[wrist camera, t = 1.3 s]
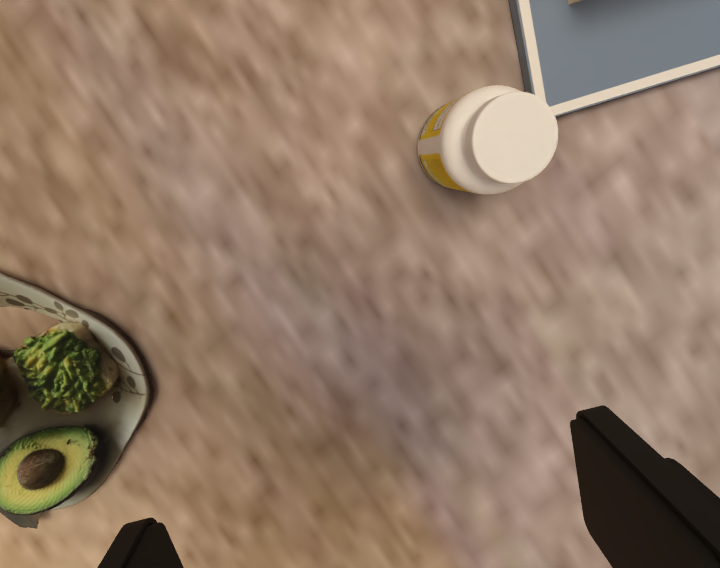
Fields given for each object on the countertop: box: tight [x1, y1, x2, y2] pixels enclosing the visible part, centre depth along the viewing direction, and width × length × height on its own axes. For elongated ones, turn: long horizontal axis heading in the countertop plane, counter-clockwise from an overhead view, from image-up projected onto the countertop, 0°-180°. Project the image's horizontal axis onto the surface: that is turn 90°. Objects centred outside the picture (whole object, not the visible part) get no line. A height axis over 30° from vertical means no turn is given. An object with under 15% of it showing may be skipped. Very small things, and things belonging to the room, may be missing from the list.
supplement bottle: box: [417, 85, 558, 195], centre depth 25 cm, size 5×5×10 cm
